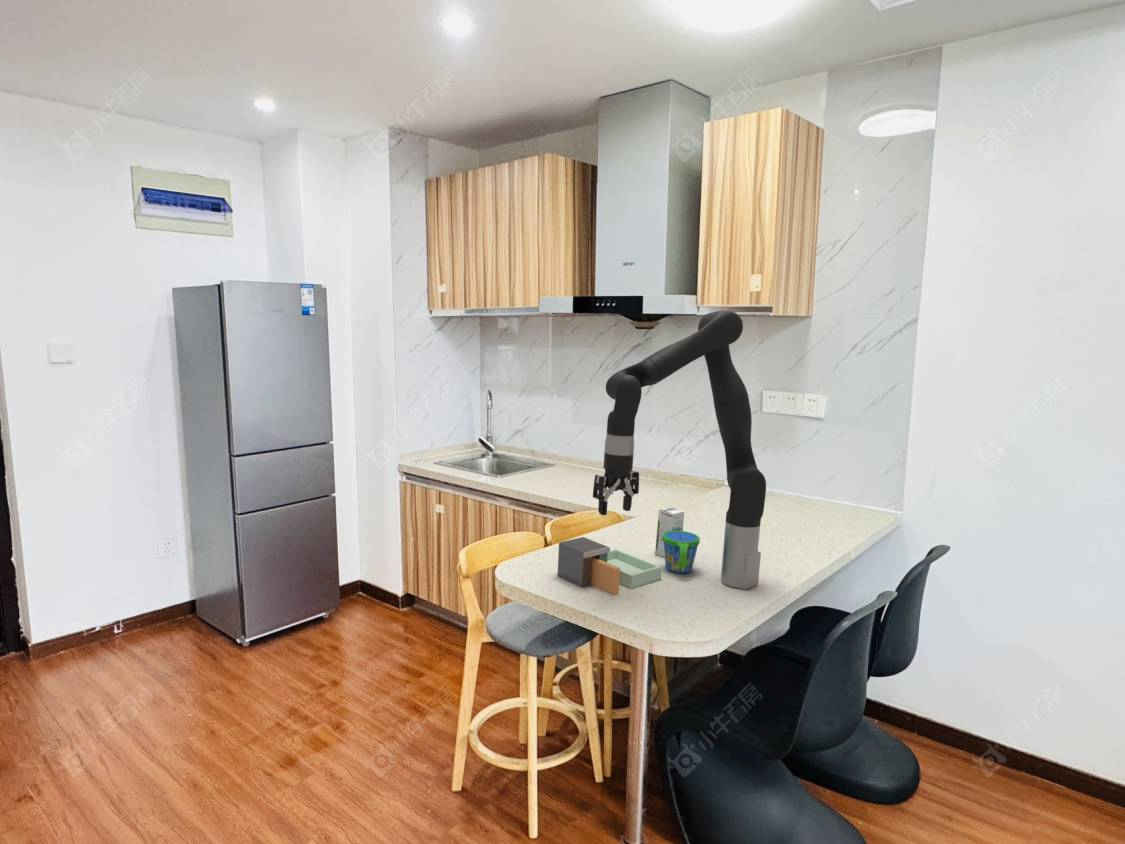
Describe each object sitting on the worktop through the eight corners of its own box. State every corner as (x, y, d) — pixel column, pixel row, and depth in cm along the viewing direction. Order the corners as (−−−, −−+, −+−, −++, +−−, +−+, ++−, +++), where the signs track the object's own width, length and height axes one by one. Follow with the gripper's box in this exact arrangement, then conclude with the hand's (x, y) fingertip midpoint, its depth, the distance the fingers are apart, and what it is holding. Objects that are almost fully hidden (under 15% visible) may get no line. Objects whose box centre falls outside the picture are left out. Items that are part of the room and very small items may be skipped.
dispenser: (608, 581, 182) (610, 547, 181) (583, 588, 176) (585, 553, 175) (581, 569, 190) (583, 536, 189) (557, 575, 184) (559, 542, 183)
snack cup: (698, 581, 185) (700, 546, 183) (659, 577, 187) (662, 542, 185) (696, 562, 200) (699, 529, 199) (661, 558, 202) (663, 526, 200)
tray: (661, 579, 185) (661, 566, 185) (631, 588, 178) (631, 575, 177) (615, 560, 199) (615, 548, 198) (585, 568, 191) (586, 556, 191)
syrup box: (665, 550, 209) (669, 505, 207) (681, 556, 205) (684, 510, 203) (654, 554, 205) (657, 508, 203) (670, 559, 201) (673, 513, 199)
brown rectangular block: (618, 593, 174) (620, 568, 173) (614, 595, 173) (615, 569, 172) (592, 581, 181) (593, 557, 180) (588, 582, 180) (589, 558, 179)
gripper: (608, 456, 164) (604, 520, 167) (648, 452, 173) (644, 512, 176) (588, 450, 170) (584, 512, 173) (628, 447, 179) (624, 505, 182)
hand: (614, 512), depth 174 cm, fingers open, 8 cm apart
